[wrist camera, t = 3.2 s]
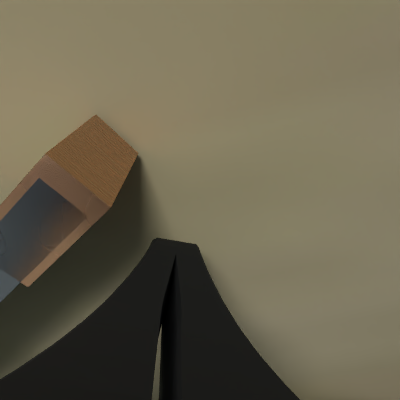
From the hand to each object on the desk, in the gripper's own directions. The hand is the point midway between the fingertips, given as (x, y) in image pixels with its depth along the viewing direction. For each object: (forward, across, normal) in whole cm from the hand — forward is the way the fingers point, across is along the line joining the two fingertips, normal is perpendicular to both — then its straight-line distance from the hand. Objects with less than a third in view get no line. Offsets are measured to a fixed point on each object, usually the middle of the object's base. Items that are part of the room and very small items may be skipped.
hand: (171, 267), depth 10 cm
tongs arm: (+1, +7, +3) cm, 7 cm away
